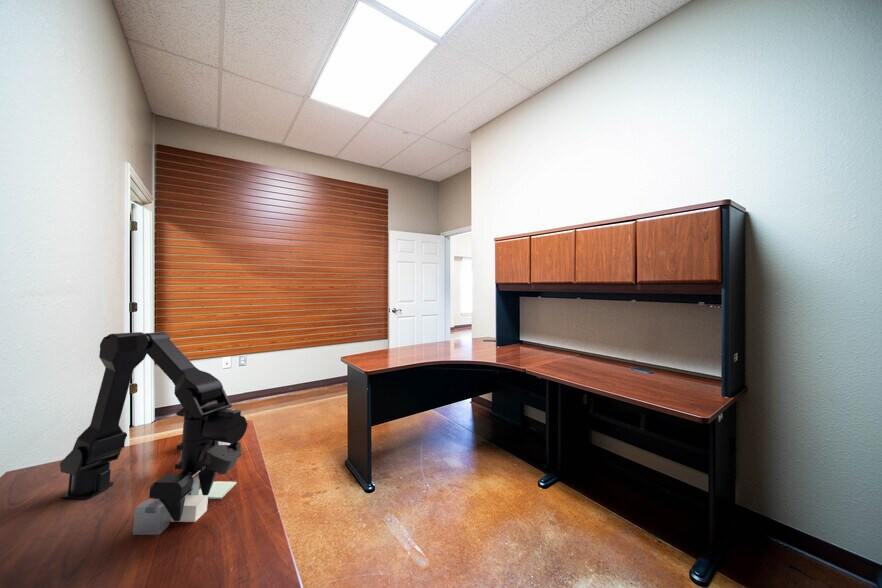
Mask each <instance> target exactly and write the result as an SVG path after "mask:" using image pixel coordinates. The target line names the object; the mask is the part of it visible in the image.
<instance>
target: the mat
mask: <svg viewBox="0 0 882 588" xmlns="http://www.w3.org/2000/svg"><path fill="white" fill-rule="evenodd" d="M237 484H238V481H215V480H214V482H213V484H212V487H211V489H210V492H209V494H208V500H213V499H214V500H221V499H223V498H224V496H225V495H227V494H228V493H229V491H231V489H233V488H234V486H236V485H237ZM198 495H203V494H202V491H201V488H199V494H198Z"/></svg>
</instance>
